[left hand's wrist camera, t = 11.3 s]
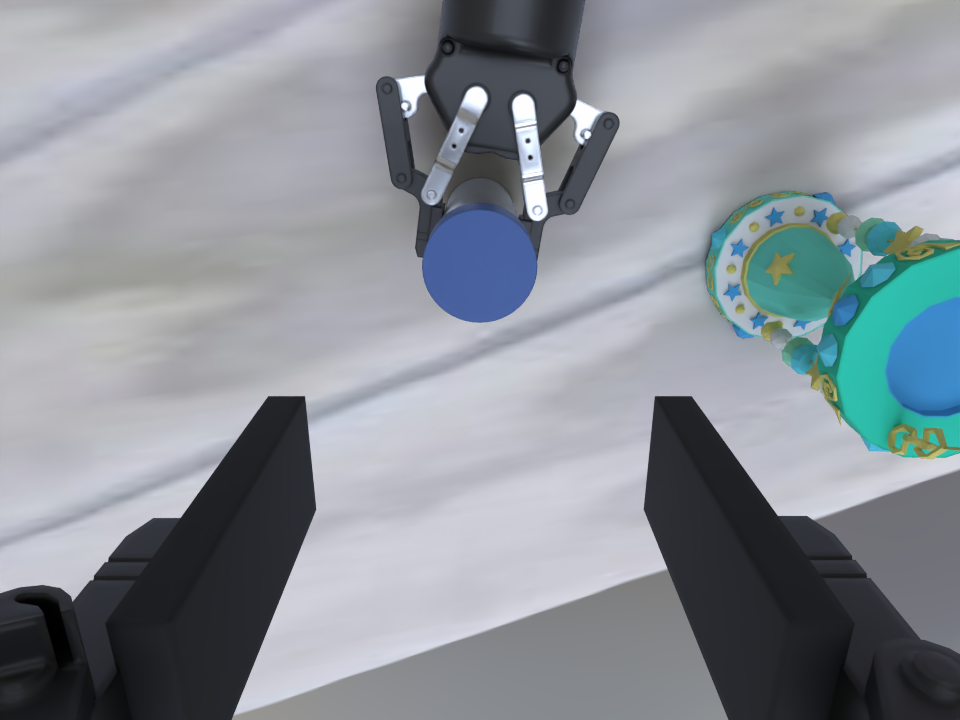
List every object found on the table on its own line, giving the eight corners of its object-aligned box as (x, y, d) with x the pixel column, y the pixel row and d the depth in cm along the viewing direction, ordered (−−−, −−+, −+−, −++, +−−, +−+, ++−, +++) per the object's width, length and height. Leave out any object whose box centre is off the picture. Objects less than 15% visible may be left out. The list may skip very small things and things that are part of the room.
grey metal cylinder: (468, 257, 47) (462, 330, 32) (433, 200, 46) (410, 247, 31) (525, 224, 47) (547, 283, 31) (492, 164, 45) (498, 195, 30)
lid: (461, 326, 34) (459, 342, 32) (405, 237, 33) (400, 247, 30) (552, 275, 33) (557, 288, 31) (499, 181, 32) (501, 187, 29)
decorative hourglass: (749, 157, 45) (1198, 248, 17) (887, 222, 46) (1512, 406, 18) (669, 304, 48) (929, 582, 20) (800, 360, 50) (1211, 691, 22)
